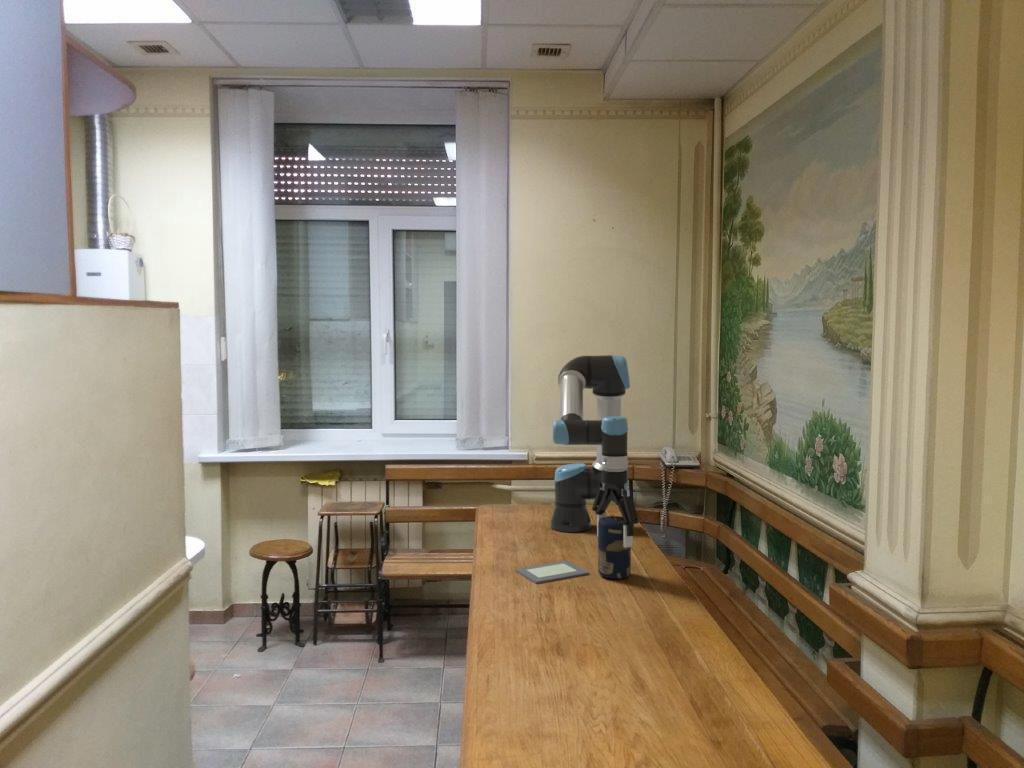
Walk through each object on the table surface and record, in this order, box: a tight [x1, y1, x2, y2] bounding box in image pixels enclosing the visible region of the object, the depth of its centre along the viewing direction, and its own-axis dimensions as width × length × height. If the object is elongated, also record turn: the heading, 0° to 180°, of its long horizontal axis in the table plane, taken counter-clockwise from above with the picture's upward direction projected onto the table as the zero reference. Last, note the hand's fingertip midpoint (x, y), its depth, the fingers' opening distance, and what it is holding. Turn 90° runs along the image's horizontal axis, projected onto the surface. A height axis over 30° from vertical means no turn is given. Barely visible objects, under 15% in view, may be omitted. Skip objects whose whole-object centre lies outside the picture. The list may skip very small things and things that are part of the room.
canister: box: [597, 514, 632, 580], centre depth 213 cm, size 10×10×18 cm
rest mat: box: [514, 560, 590, 585], centre depth 217 cm, size 18×13×1 cm
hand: (614, 541), depth 213 cm, fingers open, 13 cm apart
